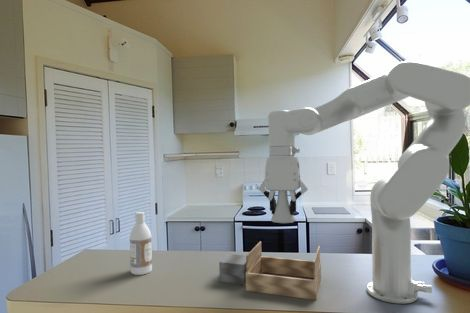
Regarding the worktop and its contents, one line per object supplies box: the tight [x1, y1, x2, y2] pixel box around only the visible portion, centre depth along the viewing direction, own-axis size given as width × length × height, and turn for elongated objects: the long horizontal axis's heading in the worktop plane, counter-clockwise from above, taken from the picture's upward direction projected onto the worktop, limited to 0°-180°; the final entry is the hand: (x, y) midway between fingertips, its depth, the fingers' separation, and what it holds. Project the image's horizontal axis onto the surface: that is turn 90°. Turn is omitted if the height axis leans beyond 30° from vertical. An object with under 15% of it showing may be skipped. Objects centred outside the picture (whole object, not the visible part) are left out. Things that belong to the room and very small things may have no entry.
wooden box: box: [245, 240, 322, 301], centre depth 96 cm, size 20×16×10 cm
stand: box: [218, 253, 246, 286], centre depth 102 cm, size 8×8×6 cm
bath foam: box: [129, 211, 153, 276], centre depth 109 cm, size 7×7×20 cm
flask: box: [271, 191, 297, 224], centre depth 96 cm, size 7×7×10 cm
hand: (283, 212), depth 96 cm, fingers closed on flask, 4 cm apart
